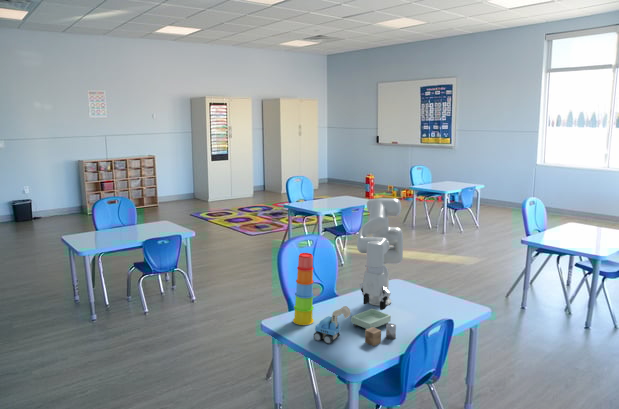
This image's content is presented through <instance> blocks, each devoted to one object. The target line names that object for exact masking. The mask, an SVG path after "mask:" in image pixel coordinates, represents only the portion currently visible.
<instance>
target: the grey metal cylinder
mask: <svg viewBox="0 0 619 409" xmlns="http://www.w3.org/2000/svg"><path fill="white" fill-rule="evenodd" d="M385 327H386V328H385V338H386V339H387V340H389V339H390V340H392V341H394V340H395V339H397V336H396V335H397V334H396V333H397V325H396V324H395V323H391V322H388V324H387V325H385Z"/></svg>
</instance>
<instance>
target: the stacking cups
mask: <svg viewBox="0 0 619 409" xmlns="http://www.w3.org/2000/svg"><path fill="white" fill-rule="evenodd" d="M313 262H314V256H313V254H312V253H310V252H300V254H299V255H298V262H297V263H298V264H297V267H296V270H297V275H296V276H297V279H296V280H295V282H296V292H295V293H294V295H295V302H294V304H295V305H294V306H293V309H294V317H293V319H292V322H293V323H294V324H296V325H299V326H310V325H312V324H313V323H314V322H315V320H314V318H313V310H314V309H315V308H314V306H313V300H314V299H313V298H314V295H315V294H314V290H313V289H314V288H313V286H314V280H313V279H314V278H313V276H314V267H313V265H314V263H313Z"/></svg>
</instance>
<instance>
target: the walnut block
mask: <svg viewBox="0 0 619 409" xmlns="http://www.w3.org/2000/svg"><path fill="white" fill-rule="evenodd" d="M364 331H365V333H364V343H365V344H367V345H370V346H372V347H375V346H376V345H379V344H381V343H382V330H381V329H379V328H377V327H376V328H374V327H372V328H369V329H365V330H364Z"/></svg>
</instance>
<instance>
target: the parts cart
mask: <svg viewBox="0 0 619 409" xmlns="http://www.w3.org/2000/svg"><path fill="white" fill-rule="evenodd" d="M350 316H351V315H350ZM391 317H392V316H391V314H387V313H386V312H383V311H381V310H377V309H375V308H370V309H367V310H365V311H361V312H359V313H356V314H354V315H352V316H351V318H350V323H352V324H353V327H356V328H357V327H358V326H359V327H362V328H364V329H365V330H367V329H369V328H372V327H374V328H376V329H377V328H378V327H381V326H386V325H387V324H389V323H391V319H392V318H391Z"/></svg>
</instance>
